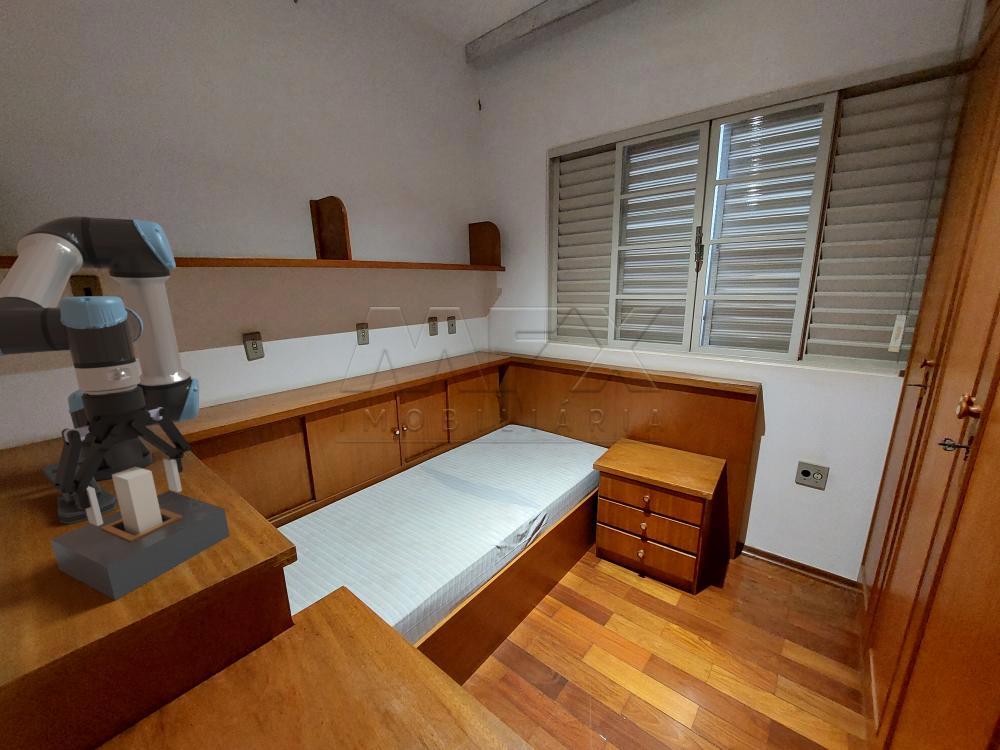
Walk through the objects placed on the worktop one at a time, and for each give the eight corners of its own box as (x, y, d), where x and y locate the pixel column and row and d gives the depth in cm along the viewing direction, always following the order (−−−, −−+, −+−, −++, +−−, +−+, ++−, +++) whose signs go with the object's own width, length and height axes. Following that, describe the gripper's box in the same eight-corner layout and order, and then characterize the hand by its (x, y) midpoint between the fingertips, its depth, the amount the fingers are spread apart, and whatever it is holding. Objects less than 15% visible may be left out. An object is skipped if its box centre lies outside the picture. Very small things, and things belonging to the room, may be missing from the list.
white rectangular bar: (130, 554, 74) (111, 474, 70) (153, 542, 77) (135, 466, 74) (146, 560, 72) (127, 479, 68) (168, 549, 75) (151, 471, 72)
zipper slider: (88, 455, 102) (115, 481, 88) (95, 478, 103) (121, 509, 89) (36, 468, 95) (55, 499, 81) (43, 493, 96) (63, 528, 82)
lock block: (59, 569, 70) (49, 538, 68) (174, 516, 86) (168, 489, 85) (115, 600, 63) (106, 565, 62) (229, 535, 79) (224, 507, 78)
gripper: (19, 411, 55) (59, 549, 60) (200, 376, 77) (218, 480, 81) (-4, 405, 58) (35, 537, 63) (176, 373, 80) (195, 473, 84)
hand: (138, 505), depth 72 cm, fingers open, 11 cm apart
